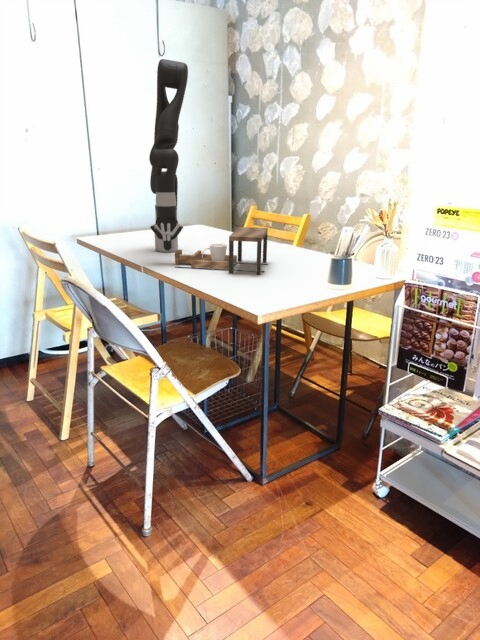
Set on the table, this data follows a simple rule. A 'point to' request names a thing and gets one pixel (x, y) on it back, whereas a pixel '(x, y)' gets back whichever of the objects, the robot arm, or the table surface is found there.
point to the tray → (197, 257)
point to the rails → (226, 269)
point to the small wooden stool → (250, 236)
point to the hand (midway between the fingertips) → (167, 250)
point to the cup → (217, 251)
